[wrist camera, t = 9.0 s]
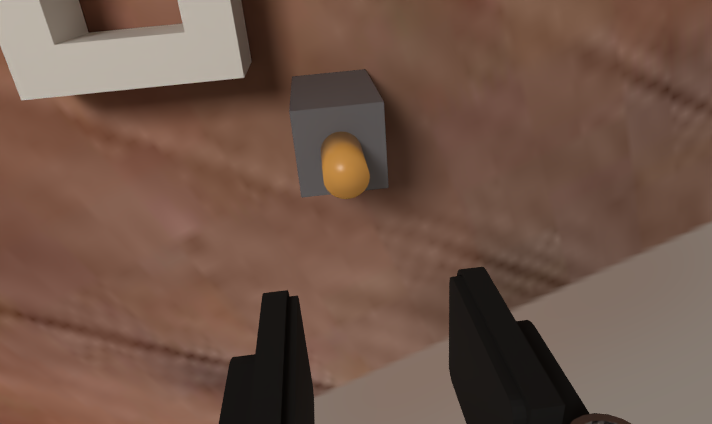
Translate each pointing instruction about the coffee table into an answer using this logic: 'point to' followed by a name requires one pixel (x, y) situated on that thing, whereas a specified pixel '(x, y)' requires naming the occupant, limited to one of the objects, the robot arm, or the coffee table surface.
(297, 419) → the robot arm
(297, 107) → the plug
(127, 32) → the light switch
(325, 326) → the coffee table surface
